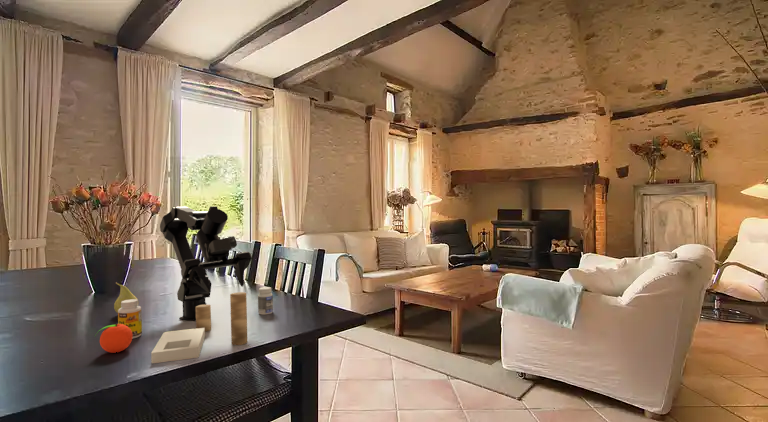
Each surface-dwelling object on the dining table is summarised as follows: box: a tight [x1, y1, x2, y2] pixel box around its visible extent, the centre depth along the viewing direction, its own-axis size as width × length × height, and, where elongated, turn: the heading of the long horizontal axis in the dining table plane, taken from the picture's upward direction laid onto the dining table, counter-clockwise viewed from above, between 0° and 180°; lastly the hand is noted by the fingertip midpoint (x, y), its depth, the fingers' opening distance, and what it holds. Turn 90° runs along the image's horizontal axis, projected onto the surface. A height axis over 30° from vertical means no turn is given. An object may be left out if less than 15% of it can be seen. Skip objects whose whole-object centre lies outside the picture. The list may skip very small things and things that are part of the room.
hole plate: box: [150, 327, 206, 364], centre depth 102 cm, size 16×10×2 cm, turn 19°
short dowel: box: [195, 304, 212, 333], centre depth 117 cm, size 4×4×7 cm
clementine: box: [94, 323, 133, 354], centre depth 100 cm, size 8×7×7 cm
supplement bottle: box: [117, 298, 143, 340], centre depth 112 cm, size 6×6×10 cm
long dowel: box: [229, 291, 249, 346], centre depth 106 cm, size 4×4×13 cm
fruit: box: [113, 281, 139, 314], centre depth 134 cm, size 7×8×12 cm
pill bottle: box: [257, 286, 274, 315], centre depth 134 cm, size 5×5×8 cm
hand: (226, 288), depth 112 cm, fingers open, 9 cm apart
